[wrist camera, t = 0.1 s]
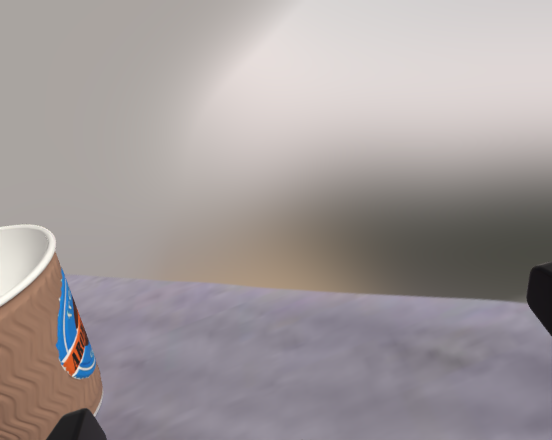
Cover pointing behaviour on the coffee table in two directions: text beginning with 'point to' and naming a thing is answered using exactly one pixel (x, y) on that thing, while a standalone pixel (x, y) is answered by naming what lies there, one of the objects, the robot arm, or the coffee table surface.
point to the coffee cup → (40, 339)
